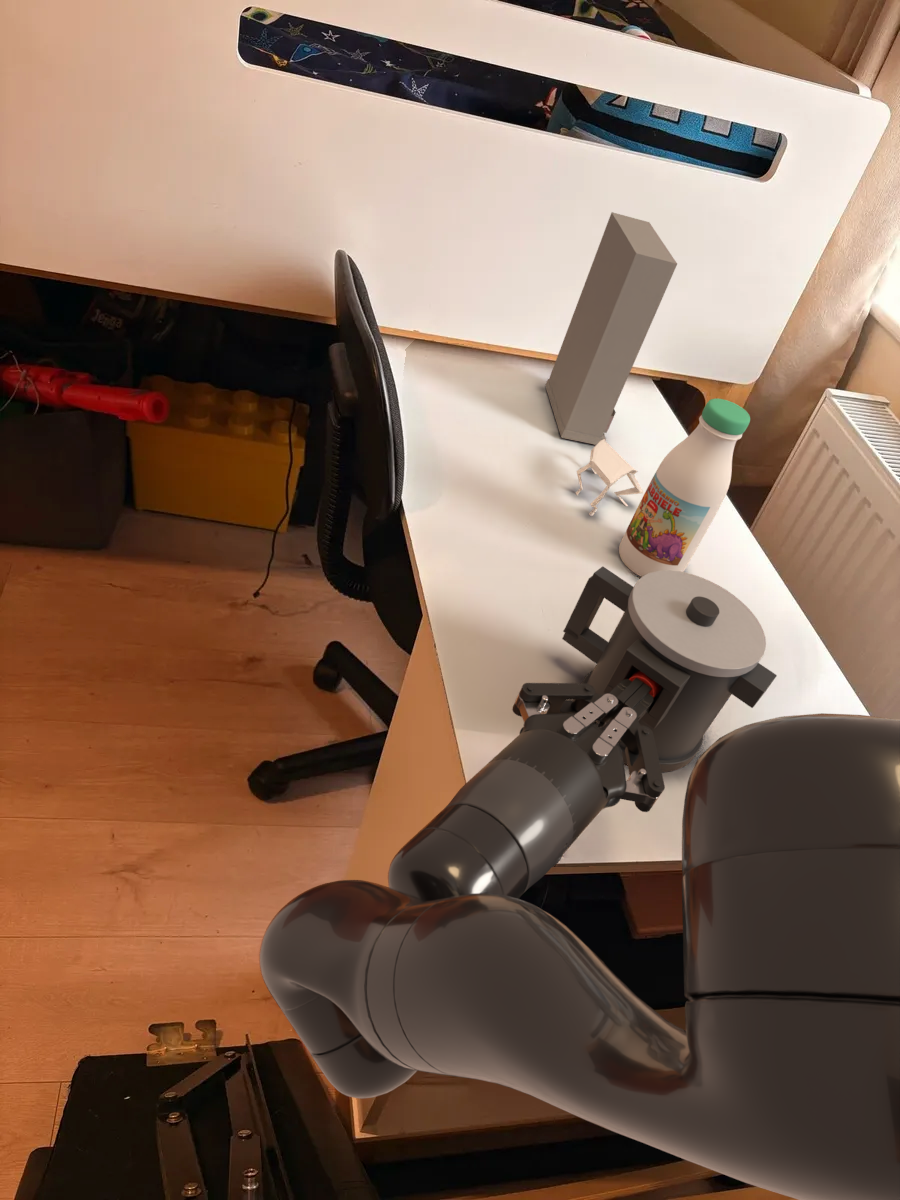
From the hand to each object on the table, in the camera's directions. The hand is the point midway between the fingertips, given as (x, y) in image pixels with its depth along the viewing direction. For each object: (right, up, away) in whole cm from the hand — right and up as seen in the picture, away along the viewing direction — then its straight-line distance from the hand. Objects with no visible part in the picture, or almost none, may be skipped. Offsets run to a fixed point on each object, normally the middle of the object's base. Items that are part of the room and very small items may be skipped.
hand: (639, 690), depth 71 cm
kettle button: (0, -1, +1) cm, 1 cm away
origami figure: (+3, +20, +39) cm, 45 cm away
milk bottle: (+7, +11, +31) cm, 33 cm away
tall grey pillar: (+2, +32, +53) cm, 62 cm away
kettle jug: (+1, -3, +11) cm, 11 cm away
